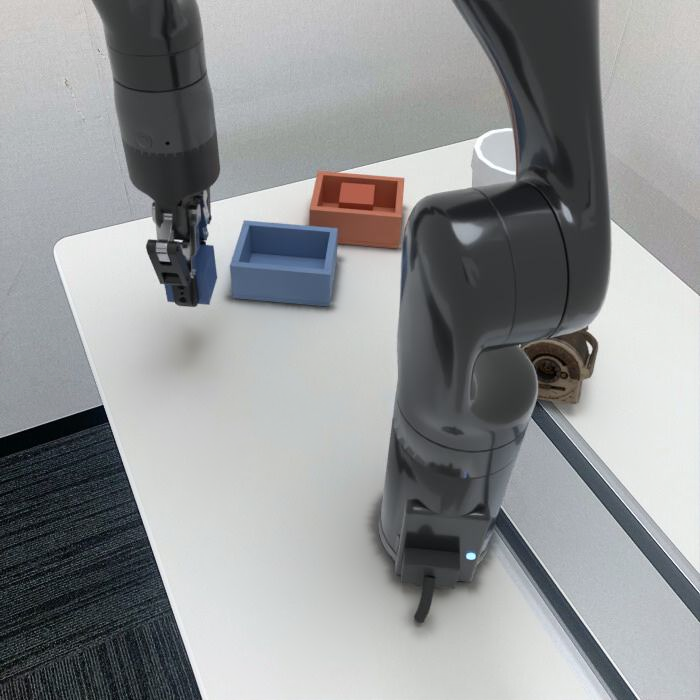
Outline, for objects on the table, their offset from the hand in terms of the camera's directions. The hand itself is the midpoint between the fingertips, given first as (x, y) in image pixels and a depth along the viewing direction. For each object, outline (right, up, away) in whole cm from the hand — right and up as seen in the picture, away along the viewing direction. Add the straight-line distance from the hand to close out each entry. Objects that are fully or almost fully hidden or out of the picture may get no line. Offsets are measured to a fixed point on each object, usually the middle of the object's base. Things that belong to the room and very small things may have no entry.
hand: (192, 287), depth 72 cm
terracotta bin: (+16, +9, +20) cm, 27 cm away
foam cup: (+33, +6, +18) cm, 38 cm away
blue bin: (+8, +2, +12) cm, 15 cm away
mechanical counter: (+36, -8, +5) cm, 37 cm away
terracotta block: (+16, +10, +19) cm, 27 cm away
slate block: (0, 0, 0) cm, 0 cm away
